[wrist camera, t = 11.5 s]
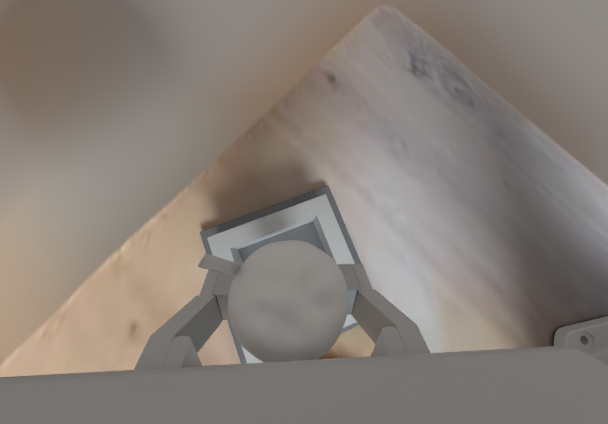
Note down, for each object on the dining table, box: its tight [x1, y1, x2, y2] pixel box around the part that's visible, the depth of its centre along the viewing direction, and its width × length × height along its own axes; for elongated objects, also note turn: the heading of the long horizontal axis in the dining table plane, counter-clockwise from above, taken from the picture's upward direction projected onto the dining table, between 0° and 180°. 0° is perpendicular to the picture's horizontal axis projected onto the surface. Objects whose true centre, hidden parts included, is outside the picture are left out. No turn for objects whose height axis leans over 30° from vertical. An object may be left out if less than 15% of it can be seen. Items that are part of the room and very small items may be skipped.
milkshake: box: [198, 240, 348, 363], centre depth 12 cm, size 4×5×10 cm
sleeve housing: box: [200, 186, 361, 364], centre depth 22 cm, size 14×14×4 cm
